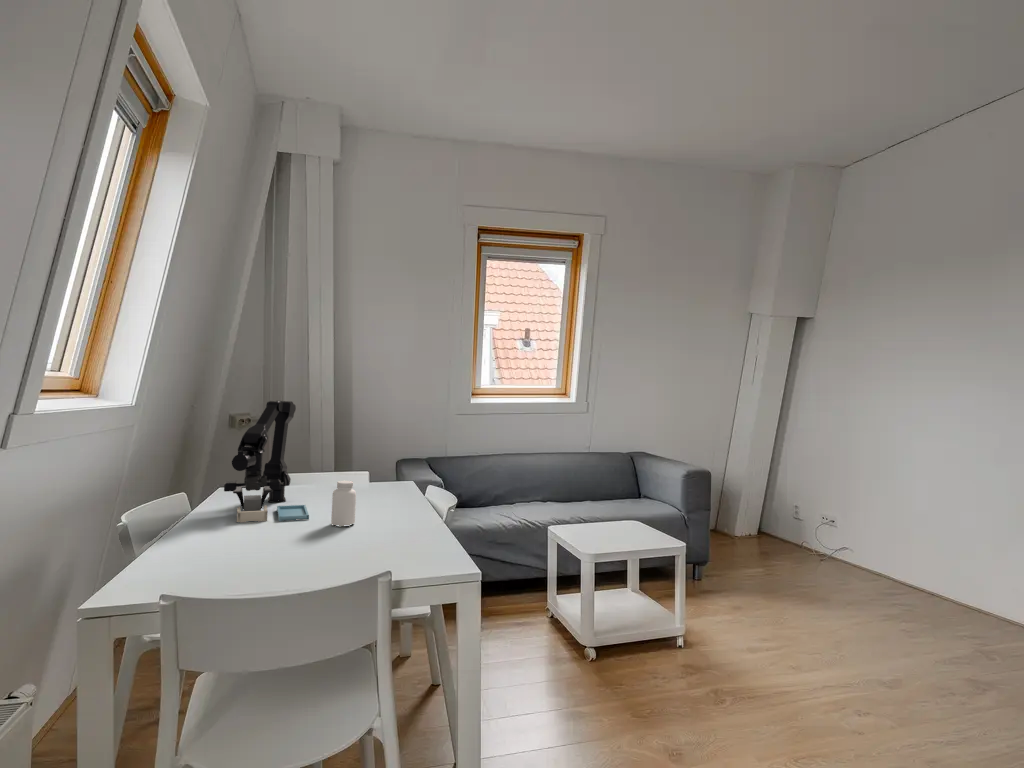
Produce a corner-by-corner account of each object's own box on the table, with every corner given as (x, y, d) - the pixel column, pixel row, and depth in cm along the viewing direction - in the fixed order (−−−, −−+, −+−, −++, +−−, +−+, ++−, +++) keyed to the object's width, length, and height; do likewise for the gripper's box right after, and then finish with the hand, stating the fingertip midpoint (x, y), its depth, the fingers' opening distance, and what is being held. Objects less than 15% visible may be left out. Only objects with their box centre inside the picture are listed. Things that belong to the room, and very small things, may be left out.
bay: (237, 516, 210) (237, 506, 209) (266, 515, 213) (266, 505, 213) (236, 522, 202) (237, 512, 202) (267, 521, 206) (267, 511, 206)
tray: (277, 510, 221) (277, 506, 221) (305, 508, 225) (305, 504, 225) (278, 521, 207) (279, 516, 206) (308, 519, 211) (309, 515, 210)
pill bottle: (358, 522, 210) (360, 480, 210) (349, 528, 202) (351, 485, 202) (336, 520, 211) (338, 478, 211) (327, 526, 203) (329, 483, 203)
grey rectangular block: (243, 507, 221) (244, 492, 221) (259, 506, 224) (260, 491, 223) (243, 515, 210) (244, 500, 210) (260, 514, 213) (261, 499, 212)
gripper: (224, 470, 203) (222, 516, 204) (282, 469, 211) (280, 513, 212) (225, 465, 214) (223, 508, 214) (280, 463, 221) (279, 505, 222)
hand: (252, 508), depth 215 cm, fingers closed on grey rectangular block, 6 cm apart
